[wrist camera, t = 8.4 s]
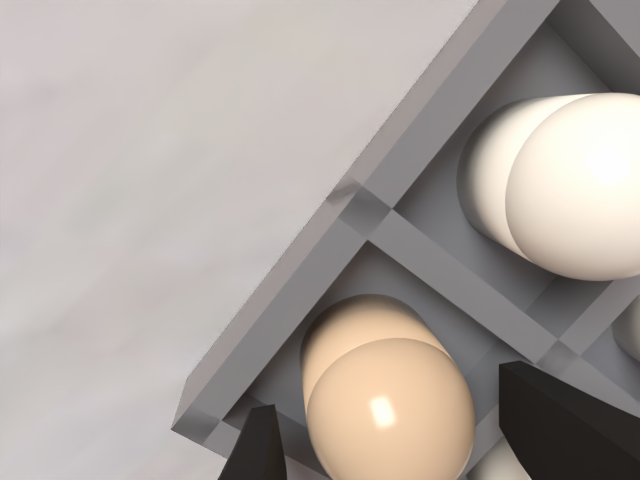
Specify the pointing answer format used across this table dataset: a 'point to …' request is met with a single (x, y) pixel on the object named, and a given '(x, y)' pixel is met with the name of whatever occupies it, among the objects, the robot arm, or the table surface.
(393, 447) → the tan egg
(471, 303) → the egg tray
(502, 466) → the cream egg
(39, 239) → the table surface
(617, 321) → the cream egg
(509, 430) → the robot arm
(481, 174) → the cream egg
